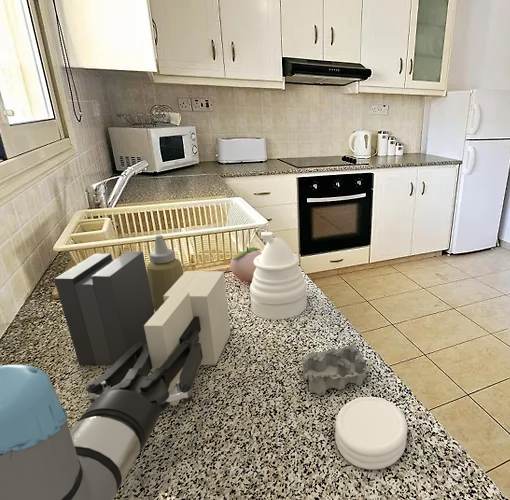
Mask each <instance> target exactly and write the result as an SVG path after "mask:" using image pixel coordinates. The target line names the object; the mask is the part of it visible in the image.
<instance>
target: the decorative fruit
mask: <svg viewBox="0 0 510 500" xmlns="http://www.w3.org/2000/svg"><path fill="white" fill-rule="evenodd" d="M261 253H262V252H261V249H260V248H259V247H253V246H252V247H248V245H247V246H246V248H245V249H244V250H242V251H239V252H236V254H234V256H233V257H232V258H231V260H230V264H229V268H230V272H231V273H232V274H233V276H234V277H235V278H236V279H238V280H240V281H242V282H245V283H252V279H253V277H254V271H255V270H256V266H255V265H254V259H255V258H256V257H257V256H258V255H261Z"/></svg>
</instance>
